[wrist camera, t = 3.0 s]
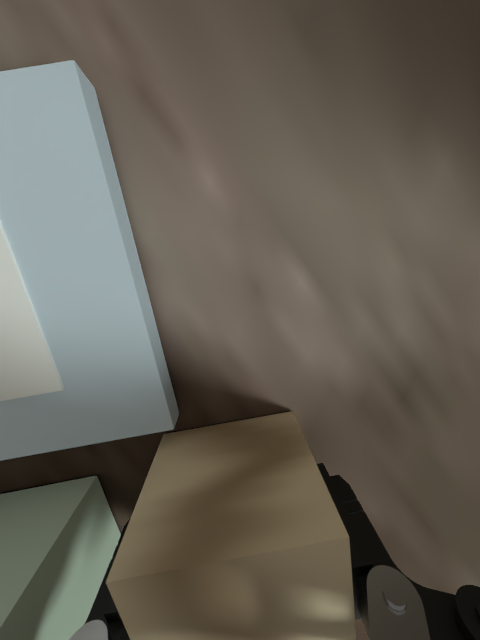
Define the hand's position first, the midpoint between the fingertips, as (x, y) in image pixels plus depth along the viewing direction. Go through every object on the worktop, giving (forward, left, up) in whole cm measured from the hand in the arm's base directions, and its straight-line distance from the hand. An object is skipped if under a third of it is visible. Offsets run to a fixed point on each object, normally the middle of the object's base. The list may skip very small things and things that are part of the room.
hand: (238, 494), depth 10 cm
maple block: (0, 0, -1) cm, 1 cm away
